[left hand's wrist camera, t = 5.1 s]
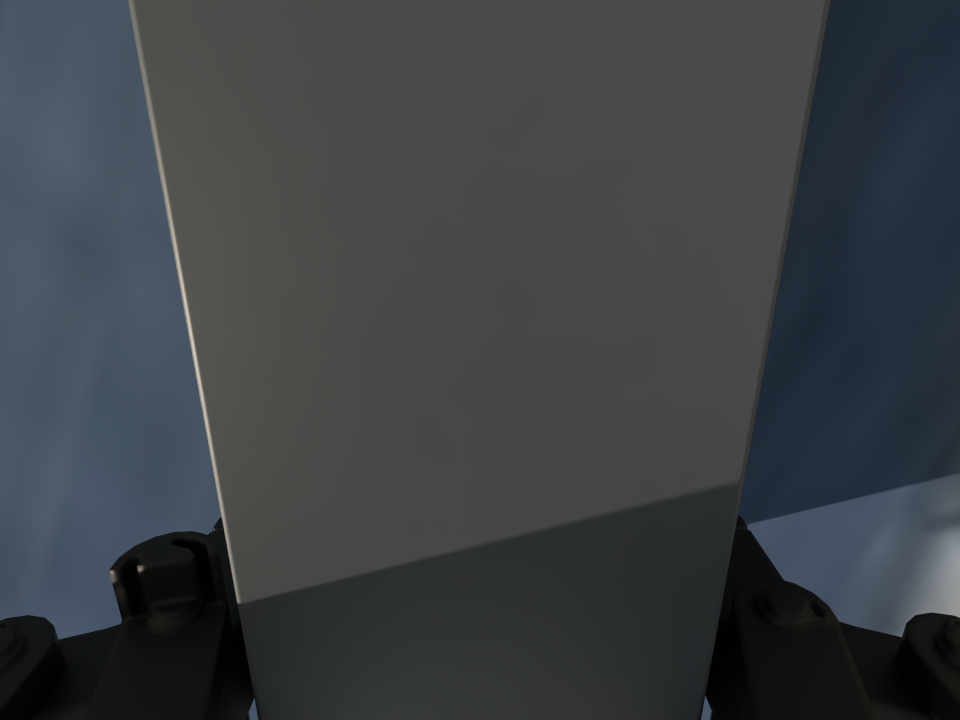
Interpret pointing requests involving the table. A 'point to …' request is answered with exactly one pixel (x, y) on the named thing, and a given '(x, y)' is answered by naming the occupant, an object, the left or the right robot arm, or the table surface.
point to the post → (479, 332)
